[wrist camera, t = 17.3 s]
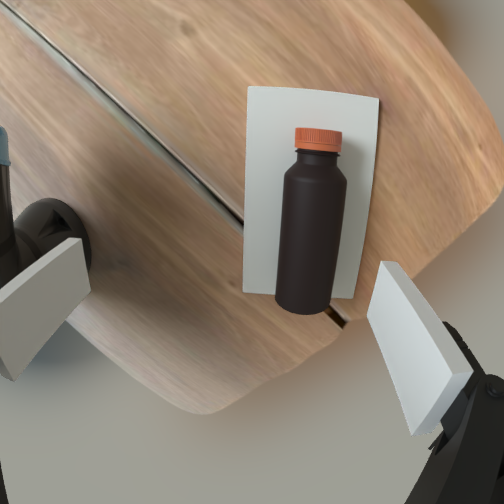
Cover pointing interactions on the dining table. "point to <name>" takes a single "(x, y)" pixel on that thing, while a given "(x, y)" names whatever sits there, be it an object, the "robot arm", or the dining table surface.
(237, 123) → the dining table surface
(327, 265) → the vinegar
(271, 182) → the mat
